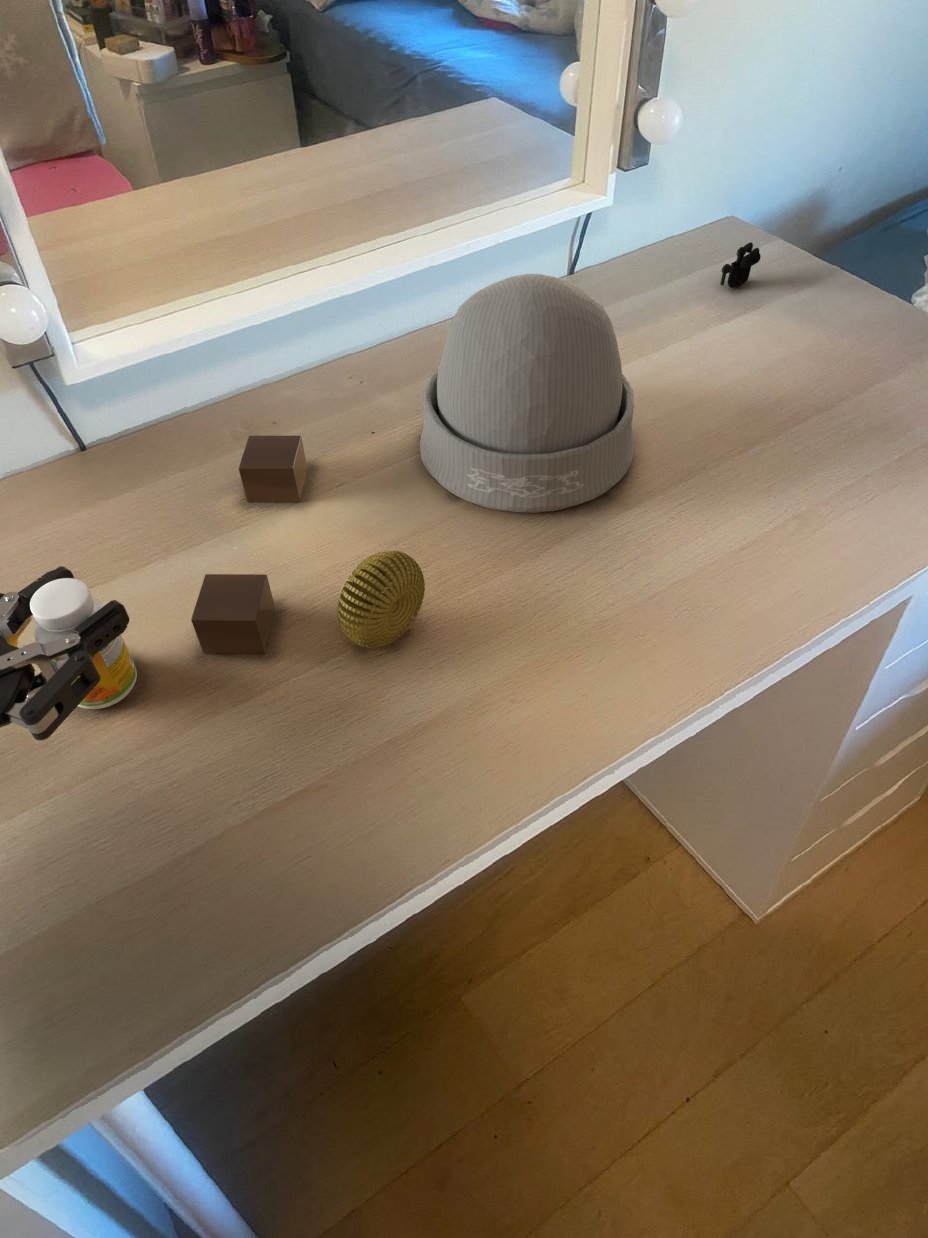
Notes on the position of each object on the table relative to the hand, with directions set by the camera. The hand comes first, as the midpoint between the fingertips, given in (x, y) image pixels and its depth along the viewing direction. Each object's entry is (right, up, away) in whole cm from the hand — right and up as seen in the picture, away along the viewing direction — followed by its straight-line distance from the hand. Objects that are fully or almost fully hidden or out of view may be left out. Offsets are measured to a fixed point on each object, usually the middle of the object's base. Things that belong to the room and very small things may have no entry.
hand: (95, 593), depth 65 cm
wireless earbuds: (+60, +39, +44) cm, 84 cm away
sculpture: (+20, -3, +8) cm, 22 cm away
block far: (+9, +11, +20) cm, 25 cm away
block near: (+8, -3, +8) cm, 12 cm away
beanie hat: (+33, +15, +24) cm, 43 cm away
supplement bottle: (-1, -7, +5) cm, 9 cm away
